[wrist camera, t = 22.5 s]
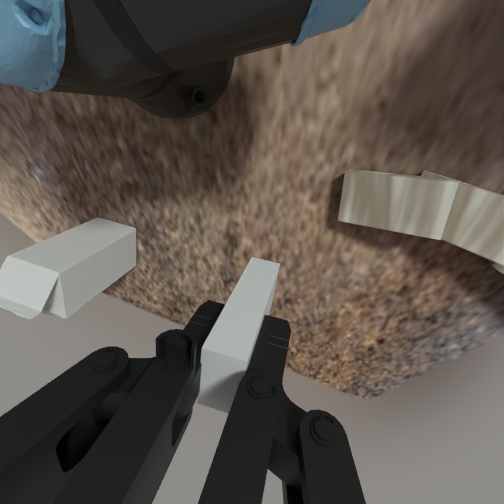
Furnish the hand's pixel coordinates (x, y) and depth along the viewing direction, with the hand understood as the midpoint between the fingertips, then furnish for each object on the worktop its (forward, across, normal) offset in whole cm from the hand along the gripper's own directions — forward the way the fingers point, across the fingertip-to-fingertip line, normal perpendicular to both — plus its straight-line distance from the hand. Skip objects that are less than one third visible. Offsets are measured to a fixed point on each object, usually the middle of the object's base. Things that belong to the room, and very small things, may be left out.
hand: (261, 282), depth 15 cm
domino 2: (+24, +13, +2) cm, 27 cm away
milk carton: (+25, -28, -15) cm, 40 cm away
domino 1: (+23, +5, 0) cm, 24 cm away
